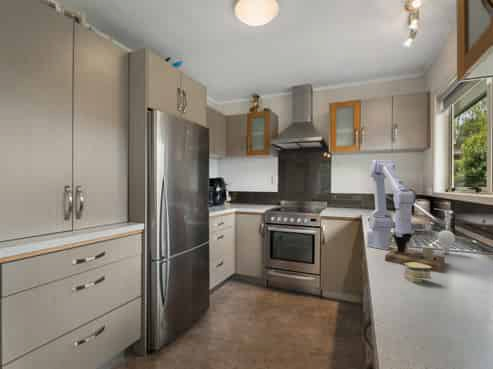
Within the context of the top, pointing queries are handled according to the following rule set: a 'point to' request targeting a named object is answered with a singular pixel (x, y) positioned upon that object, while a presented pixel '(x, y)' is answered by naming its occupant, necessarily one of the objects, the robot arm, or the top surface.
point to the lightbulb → (446, 240)
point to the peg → (428, 254)
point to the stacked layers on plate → (416, 272)
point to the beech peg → (405, 250)
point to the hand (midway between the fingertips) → (402, 251)
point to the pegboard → (415, 259)
